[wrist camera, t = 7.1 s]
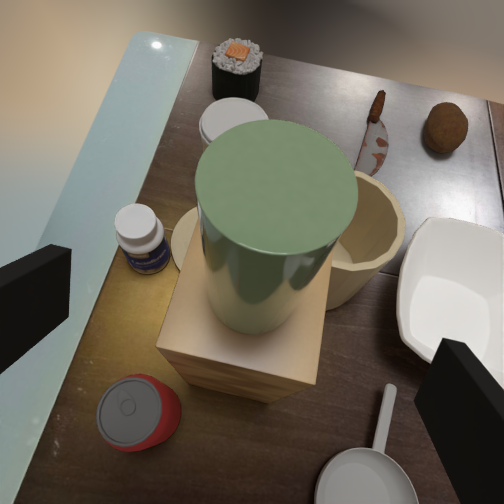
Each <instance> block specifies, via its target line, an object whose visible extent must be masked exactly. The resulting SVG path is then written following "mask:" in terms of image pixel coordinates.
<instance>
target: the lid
mask: <svg viewBox="0 0 504 504" xmlns="http://www.w3.org/2000/svg"><path fill="white" fill-rule="evenodd" d="M197 220H198V210H197V207H195V208H193V209H191V210H190V211H189V212H187V213H186V214H185V215H184V216H183V217H182V218H181V219H180V220H179V222H178V223H177V225H176V226H175V229H174V231H173V234H172V238H171V251H172V256H173V259H174V262H175V264H176V266H177V267H178V269H179V270H180V271H181V268H182V265H183V262H184V259H185V256H186V253H187V250H188V247H189V244H190V241H191V238H192V235H193V232H194V229H195V226H196V223H197Z"/></svg>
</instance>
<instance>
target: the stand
mask: <svg viewBox="0 0 504 504" xmlns="http://www.w3.org/2000/svg"><path fill="white" fill-rule="evenodd" d="M333 250H334V249H333ZM333 250H332V252H331V253H330V255H329V256H328V258H327V260H326V261H325V263H324V264H323V266H322V267H321V269H320V270H319V272H318V274H317V275H316V277H315V278H314V280H313V281H312V283H311V284H310V286H309V288H308V289H307V291H306V292H305V294H304V295H303V297H302V298H301V300H300V301H299V303H298V305H297V306H296V308H295V309H294V311H293V312H292V314H291V315H290V317H289V318H288V319H287V320H286V321H285V322H284V323H283V324H282V325H281V326H280V327H278V328H276V329H275V330H273V331H270V332H267V333H263V334H257V335H250V334H243V333H239V332H236V331H234V330H232V329H230V328H228V327H227V326H225V325H224V324H223V323H222V322H221V321H220V320H219V319H218V318H217V317H216V316H215V314H214V313H213V311H212V309H211V307H210V304H209V301H208V297H207V288H206V280H205V271H204V262H203V253H202V245H201V236H200V227H199V218H198V220H197V223H196V226H195V229H194V232H193V235H192V238H191V241H190V244H189V247H188V250H187V253H186V256H185V259H184V262H183V265H182V268H181V271H180V274H179V277H178V280H177V283H176V286H175V289H174V292H173V295H172V298H171V301H170V304H169V307H168V310H167V313H166V316H165V319H164V322H163V324H162V327H161V330H160V333H159V336H158V339H157V342H156V345H155V347H156V348H157V349H158V350H159V351H160V352H161V354H162V355H163V356H164V357H165V358H166V359H167V360H168V361H169V363H170V364H171V365H172V366H173V367H174V368H175V369H176V371H177V372H178V373H179V374H180V375H181V376H182V377H183V379H184V380H185V381H186V382H187V383H188V384H190V385H194V386H198V387H202V388H206V389H211V390H215V391H219V392H223V393H227V394H231V395H235V396H239V397H244V398H248V399H252V400H256V401H260V402H264V403H271V402H274V401H276V400H279V399H281V398H284V397H286V396H289V395H291V394H294V393H296V392H299V391H301V390H304V389H307V388H309V387H312V386H314V385H316V377H317V370H318V362H319V355H320V347H321V340H322V332H323V325H324V317H325V310H326V302H327V295H328V287H329V280H330V272H331V265H332V257H333Z"/></svg>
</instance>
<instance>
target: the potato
mask: <svg viewBox="0 0 504 504" xmlns="http://www.w3.org/2000/svg"><path fill="white" fill-rule="evenodd" d="M467 131H468V120H467V118H466V116H465V115H464V113H463V112H462V111H461V109H460V108H459V107H458V106H457V105H456V104H453V103H448V102H445V103H440V104H437V105H436V106H434V107H433V108H432V110H431V111H430V113H429V116H428V119H427V122H426V125H425V140H426V143H427V145H428V146H429V147H430V148H431V149H433V150H434V151H436V152H439V153H447V152H450V151H453V150H455V149H456V148H458V147H459V146H460V145H461V144H462V142H463V141H464V140H465V138H466V135H467Z"/></svg>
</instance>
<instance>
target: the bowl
mask: <svg viewBox="0 0 504 504" xmlns="http://www.w3.org/2000/svg"><path fill="white" fill-rule="evenodd" d="M396 316H397V322H398V328H399V333H400V337H401V340H402V341H403V342H404V343H405V344H406V345H407V346H408V347H409V348H411V349H412V350H413V351H414V352H415V353H416V354H417V355H419V356H420V357H421V358H422V359H423V360H425V361H427V362H428V363H430V364H431V362H432V359H433V357H434V355H435V353H436V351H437V348H438V346H439V344H440V342H441V340H442V338H447V339H452V340H456V341H460V342H464V343H466V345H467V346H468V347H469V348H470V349H471V351H472V352H473V353H474V354H475V355H476V357H477V358H478V359H479V360H480V362H481V363H482V364H483V365H484V366H485V368H486V369H487V370H488V371H489V372H490V374H491V375H492V376H493V377H494V378H495V380H496V381H497V382H498V383H499V385H500V386H501V387H502V388H503V389H504V233H501V232H499V231H497V230H494V229H491V228H487V227H484V226H481V225H478V224H474V223H470V222H466V221H462V220H457V219H453V218H438V217H430V218H427V219H426V220H425V221H424V222H423V224H422V225H421V226H420V227H419V228H418V229H417V230H416V231H415V233H414V235H413V237H412V239H411V241H410V243H409V245H408V247H407V250H406V253H405V256H404V259H403V262H402V265H401V268H400V273H399V280H398V287H397V299H396Z"/></svg>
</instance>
